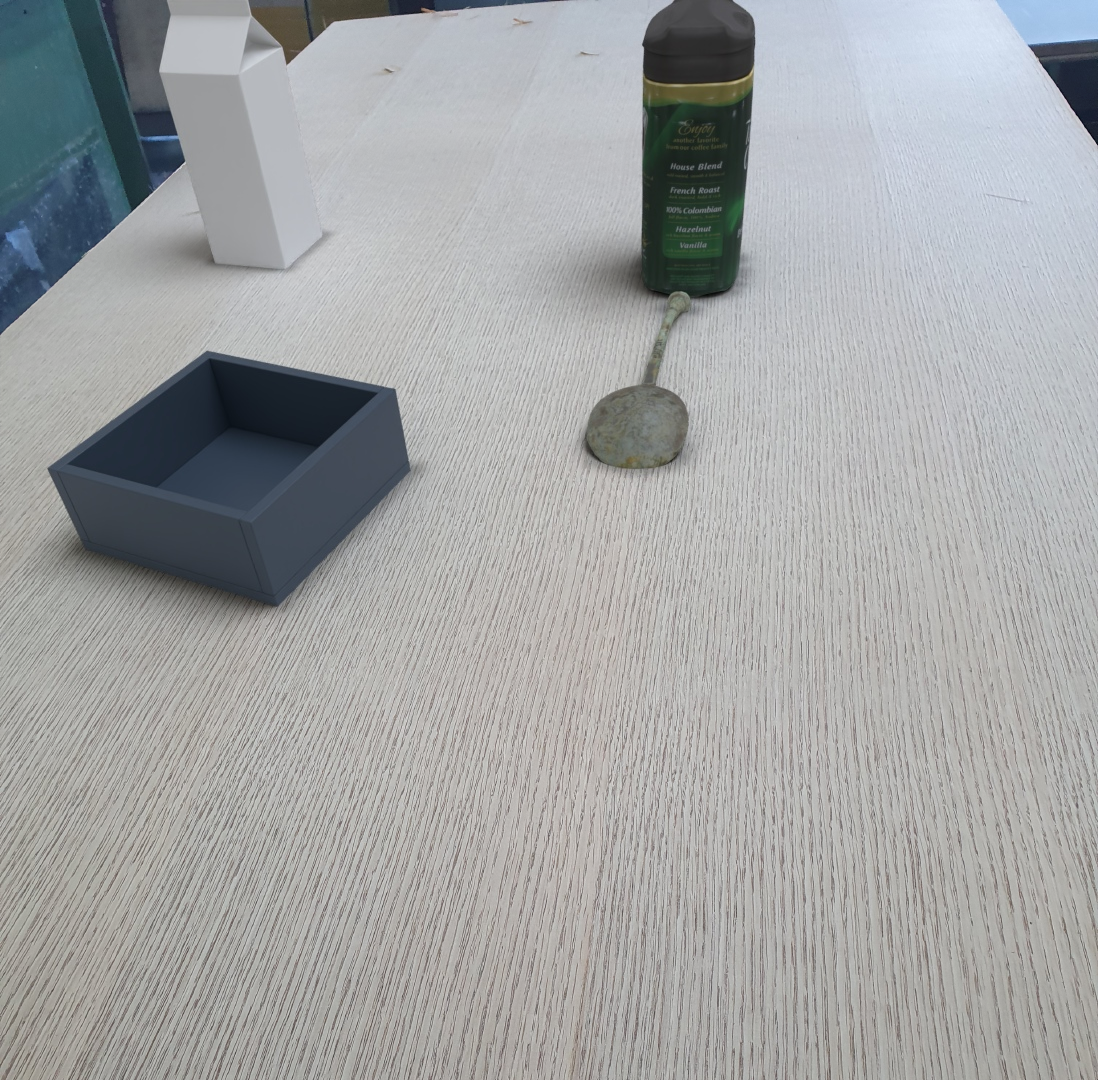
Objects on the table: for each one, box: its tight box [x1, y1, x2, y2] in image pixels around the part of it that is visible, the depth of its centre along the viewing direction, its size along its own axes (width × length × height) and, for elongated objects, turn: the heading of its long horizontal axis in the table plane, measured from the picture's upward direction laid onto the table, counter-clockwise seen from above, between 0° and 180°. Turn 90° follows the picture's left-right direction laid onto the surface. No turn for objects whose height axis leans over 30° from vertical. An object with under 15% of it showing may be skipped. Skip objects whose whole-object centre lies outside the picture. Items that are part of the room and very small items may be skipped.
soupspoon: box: [585, 292, 692, 470], centre depth 74 cm, size 22×3×7 cm
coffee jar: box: [640, 0, 756, 298], centre depth 79 cm, size 10×8×19 cm
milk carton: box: [158, 0, 323, 270], centre depth 88 cm, size 7×7×19 cm
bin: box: [47, 350, 412, 607], centre depth 65 cm, size 15×15×6 cm
